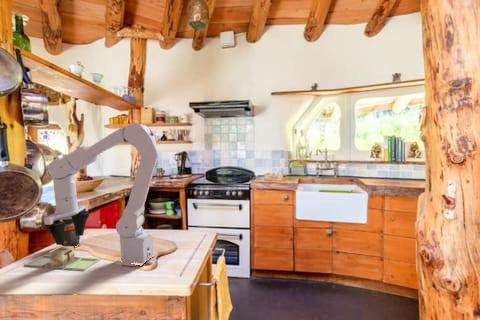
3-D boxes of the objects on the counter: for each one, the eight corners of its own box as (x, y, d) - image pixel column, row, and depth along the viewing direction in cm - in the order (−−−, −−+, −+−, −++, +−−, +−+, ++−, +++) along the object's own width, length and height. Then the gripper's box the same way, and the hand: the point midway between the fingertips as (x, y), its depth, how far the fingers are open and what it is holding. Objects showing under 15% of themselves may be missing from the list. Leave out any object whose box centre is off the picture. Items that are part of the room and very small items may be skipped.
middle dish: (80, 259, 90) (80, 257, 90) (63, 270, 83) (63, 267, 83) (62, 258, 91) (62, 256, 91) (44, 268, 84) (43, 265, 84)
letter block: (75, 260, 89) (73, 246, 88) (63, 266, 84) (62, 252, 84) (62, 259, 90) (61, 245, 89) (50, 265, 85) (49, 251, 85)
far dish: (61, 258, 91) (61, 256, 91) (42, 268, 84) (42, 265, 84) (44, 257, 93) (43, 254, 92) (24, 267, 86) (23, 264, 86)
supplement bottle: (84, 244, 103) (82, 215, 103) (73, 250, 98) (70, 219, 97) (69, 244, 104) (67, 215, 103) (58, 250, 98) (55, 219, 97)
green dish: (100, 261, 88) (100, 258, 88) (84, 271, 81) (84, 268, 81) (82, 259, 90) (81, 257, 89) (64, 270, 83) (64, 267, 83)
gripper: (73, 192, 92) (77, 231, 94) (33, 202, 78) (38, 248, 79) (91, 192, 91) (95, 231, 92) (54, 203, 77) (59, 249, 78)
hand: (70, 239), depth 86 cm, fingers open, 7 cm apart
